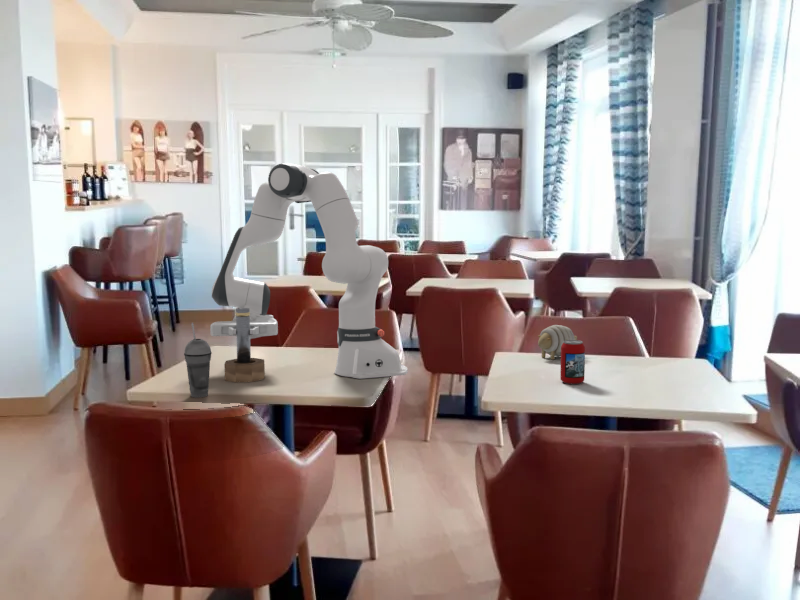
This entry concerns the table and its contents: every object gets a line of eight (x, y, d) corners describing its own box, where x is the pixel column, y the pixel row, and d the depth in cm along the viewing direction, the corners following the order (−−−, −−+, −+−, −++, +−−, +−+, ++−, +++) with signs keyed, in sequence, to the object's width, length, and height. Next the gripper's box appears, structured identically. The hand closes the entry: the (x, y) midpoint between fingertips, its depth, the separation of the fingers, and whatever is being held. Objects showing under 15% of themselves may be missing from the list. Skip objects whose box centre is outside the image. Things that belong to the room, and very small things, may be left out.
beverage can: (570, 386, 215) (571, 344, 214) (555, 381, 221) (556, 340, 220) (589, 383, 218) (590, 342, 217) (573, 379, 224) (574, 338, 223)
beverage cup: (209, 398, 203) (206, 324, 201) (182, 398, 204) (179, 324, 201) (216, 392, 211) (213, 320, 208) (190, 392, 211) (187, 320, 209)
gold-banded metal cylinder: (251, 360, 230) (250, 307, 228) (250, 362, 226) (249, 309, 224) (237, 360, 230) (235, 307, 228) (236, 363, 226) (234, 309, 224)
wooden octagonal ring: (265, 373, 235) (264, 357, 234) (263, 381, 223) (263, 364, 223) (227, 374, 233) (226, 358, 233) (223, 383, 222) (223, 366, 221)
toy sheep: (528, 358, 256) (528, 325, 255) (562, 352, 266) (562, 320, 265) (552, 362, 248) (553, 329, 247) (586, 356, 258) (586, 324, 257)
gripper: (211, 316, 238) (206, 322, 224) (278, 314, 241) (277, 321, 227) (212, 336, 239) (207, 343, 225) (278, 334, 241) (277, 342, 228)
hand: (243, 332), depth 226 cm, fingers closed on gold-banded metal cylinder, 4 cm apart
